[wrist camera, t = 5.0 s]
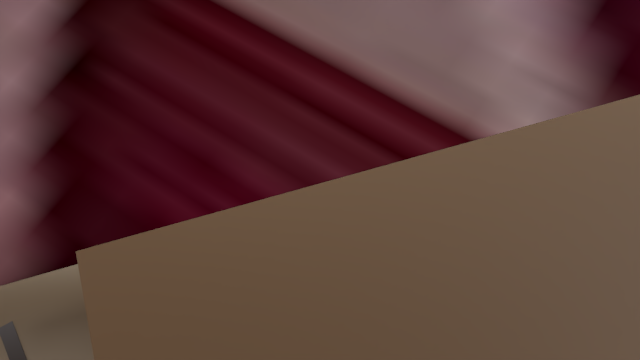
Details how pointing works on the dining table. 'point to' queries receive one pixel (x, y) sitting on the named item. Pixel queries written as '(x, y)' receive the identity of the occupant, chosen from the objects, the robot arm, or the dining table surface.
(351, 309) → the block
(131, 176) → the dining table surface
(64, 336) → the birch board
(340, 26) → the dining table surface
